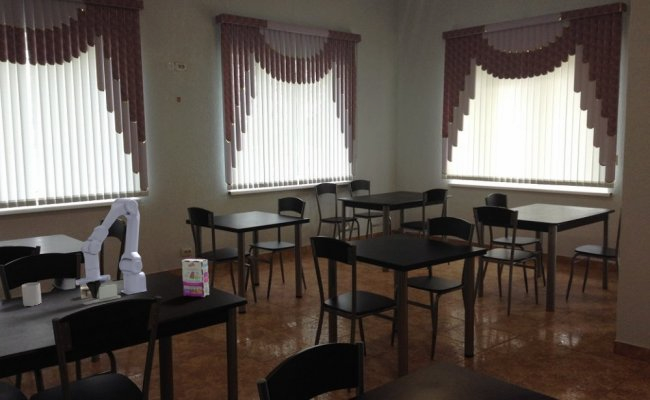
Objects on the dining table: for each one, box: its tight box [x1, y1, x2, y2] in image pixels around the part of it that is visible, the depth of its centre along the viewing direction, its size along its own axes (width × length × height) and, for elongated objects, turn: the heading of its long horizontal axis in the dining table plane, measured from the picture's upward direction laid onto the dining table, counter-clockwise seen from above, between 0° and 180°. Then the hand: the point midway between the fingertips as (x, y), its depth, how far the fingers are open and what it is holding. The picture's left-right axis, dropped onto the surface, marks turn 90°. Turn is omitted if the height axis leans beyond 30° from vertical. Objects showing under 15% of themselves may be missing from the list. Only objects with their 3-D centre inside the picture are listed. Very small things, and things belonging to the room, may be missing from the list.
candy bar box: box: [181, 258, 210, 298], centre depth 270 cm, size 11×5×16 cm, turn 68°
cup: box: [21, 282, 42, 307], centre depth 264 cm, size 7×10×9 cm
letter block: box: [80, 285, 93, 300], centre depth 273 cm, size 4×5×4 cm
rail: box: [82, 294, 122, 306], centre depth 266 cm, size 16×2×1 cm, turn 131°
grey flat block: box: [97, 283, 118, 300], centre depth 267 cm, size 8×1×6 cm, turn 131°
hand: (94, 298), depth 263 cm, fingers closed
